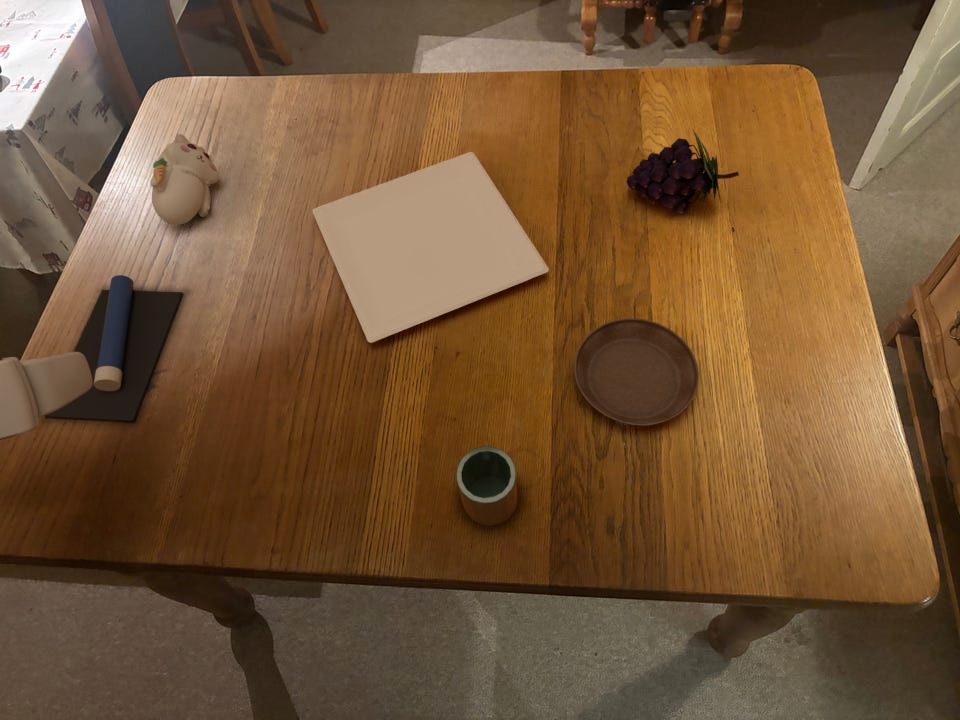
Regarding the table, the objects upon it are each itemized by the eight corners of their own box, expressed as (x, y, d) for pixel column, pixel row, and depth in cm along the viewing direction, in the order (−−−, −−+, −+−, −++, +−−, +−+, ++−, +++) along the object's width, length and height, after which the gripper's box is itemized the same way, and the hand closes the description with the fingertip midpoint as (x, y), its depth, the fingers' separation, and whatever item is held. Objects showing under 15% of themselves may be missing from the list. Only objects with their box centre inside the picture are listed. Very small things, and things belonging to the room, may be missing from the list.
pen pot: (493, 537, 73) (489, 515, 66) (451, 502, 75) (444, 478, 68) (528, 495, 75) (528, 469, 68) (486, 463, 78) (482, 435, 71)
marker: (107, 275, 91) (90, 380, 82) (130, 274, 92) (116, 378, 83) (114, 288, 94) (98, 392, 85) (137, 287, 94) (123, 390, 86)
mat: (134, 422, 83) (132, 420, 83) (46, 417, 84) (43, 416, 84) (183, 294, 93) (182, 291, 93) (104, 291, 94) (102, 289, 94)
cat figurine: (155, 193, 91) (174, 110, 97) (123, 213, 95) (144, 132, 101) (215, 226, 98) (230, 147, 104) (183, 244, 102) (200, 167, 108)
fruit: (631, 193, 102) (735, 176, 97) (632, 237, 95) (743, 221, 90) (622, 134, 94) (734, 113, 90) (622, 177, 88) (742, 157, 83)
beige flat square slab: (371, 351, 86) (368, 342, 85) (314, 217, 99) (310, 208, 97) (549, 279, 91) (550, 269, 89) (473, 159, 103) (472, 149, 101)
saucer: (718, 376, 81) (724, 365, 79) (644, 458, 77) (647, 449, 74) (623, 310, 87) (626, 298, 85) (548, 382, 82) (549, 371, 80)
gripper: (-194, 470, 55) (-71, 418, 69) (50, 428, 56) (125, 385, 69) (-225, 399, 54) (-93, 361, 67) (26, 356, 54) (107, 326, 68)
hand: (19, 372), depth 68 cm, fingers open, 8 cm apart
